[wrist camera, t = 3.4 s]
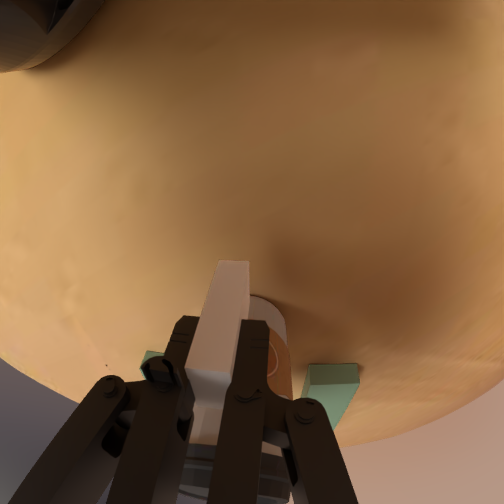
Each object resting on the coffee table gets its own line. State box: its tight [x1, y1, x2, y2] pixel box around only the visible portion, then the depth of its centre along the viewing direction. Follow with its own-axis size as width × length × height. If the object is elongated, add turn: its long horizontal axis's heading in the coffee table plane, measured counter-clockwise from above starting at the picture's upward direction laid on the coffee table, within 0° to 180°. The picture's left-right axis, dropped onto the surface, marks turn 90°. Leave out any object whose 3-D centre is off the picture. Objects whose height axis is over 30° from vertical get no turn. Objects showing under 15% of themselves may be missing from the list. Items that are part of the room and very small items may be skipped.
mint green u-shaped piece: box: [139, 351, 360, 430], centre depth 30 cm, size 16×22×3 cm
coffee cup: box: [178, 296, 293, 504], centre depth 18 cm, size 8×8×15 cm
